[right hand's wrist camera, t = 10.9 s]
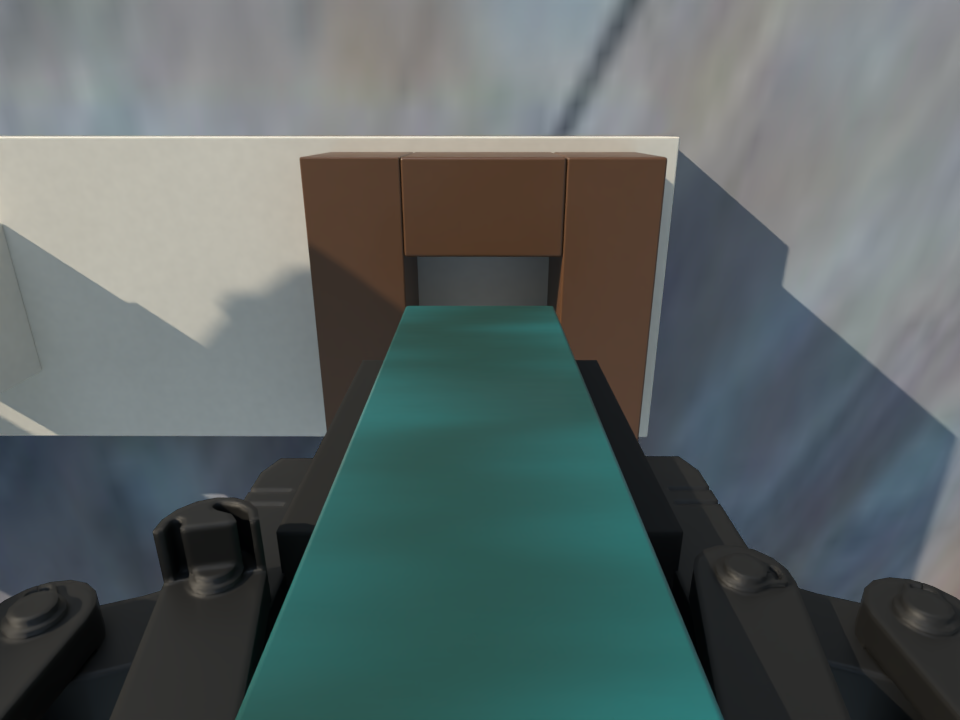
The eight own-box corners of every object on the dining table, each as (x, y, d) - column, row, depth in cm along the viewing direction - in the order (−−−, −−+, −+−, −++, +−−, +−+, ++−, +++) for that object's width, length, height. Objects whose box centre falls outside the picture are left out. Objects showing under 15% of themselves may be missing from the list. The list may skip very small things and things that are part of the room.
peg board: (664, 136, 24) (890, 148, 11) (636, 416, 28) (772, 672, 15) (-111, 136, 24) (-839, 148, 11) (-20, 415, 28) (-461, 668, 15)
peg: (553, 304, 16) (843, 990, 3) (548, 437, 18) (736, 1284, 5) (405, 304, 16) (116, 990, 3) (411, 437, 18) (223, 1283, 5)
